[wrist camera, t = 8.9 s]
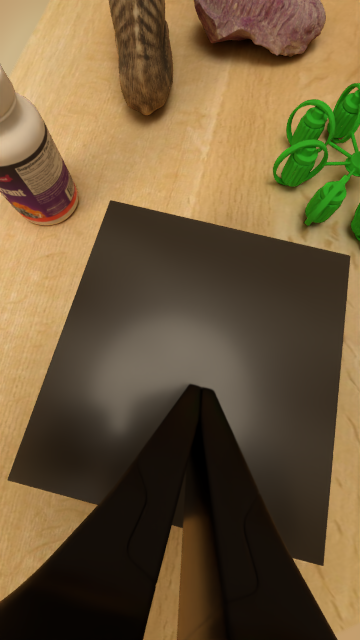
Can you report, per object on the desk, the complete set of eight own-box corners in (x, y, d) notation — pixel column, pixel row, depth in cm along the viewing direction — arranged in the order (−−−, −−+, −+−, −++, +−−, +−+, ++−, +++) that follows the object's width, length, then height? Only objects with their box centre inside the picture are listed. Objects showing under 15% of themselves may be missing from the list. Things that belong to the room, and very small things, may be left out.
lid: (113, 209, 15) (110, 199, 14) (341, 262, 15) (350, 255, 14) (17, 474, 12) (6, 480, 11) (313, 554, 11) (323, 566, 10)
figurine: (171, 26, 29) (170, -158, 19) (173, 127, 25) (174, -33, 15) (117, 25, 28) (87, -161, 19) (112, 127, 25) (72, -36, 15)
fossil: (188, 14, 29) (192, -63, 24) (309, 17, 30) (337, -58, 25) (192, 66, 27) (197, -7, 22) (321, 67, 28) (355, -3, 23)
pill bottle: (5, 204, 23) (-115, 77, 13) (49, 166, 24) (-33, 22, 14) (49, 239, 22) (-45, 130, 12) (92, 197, 23) (36, 69, 14)
